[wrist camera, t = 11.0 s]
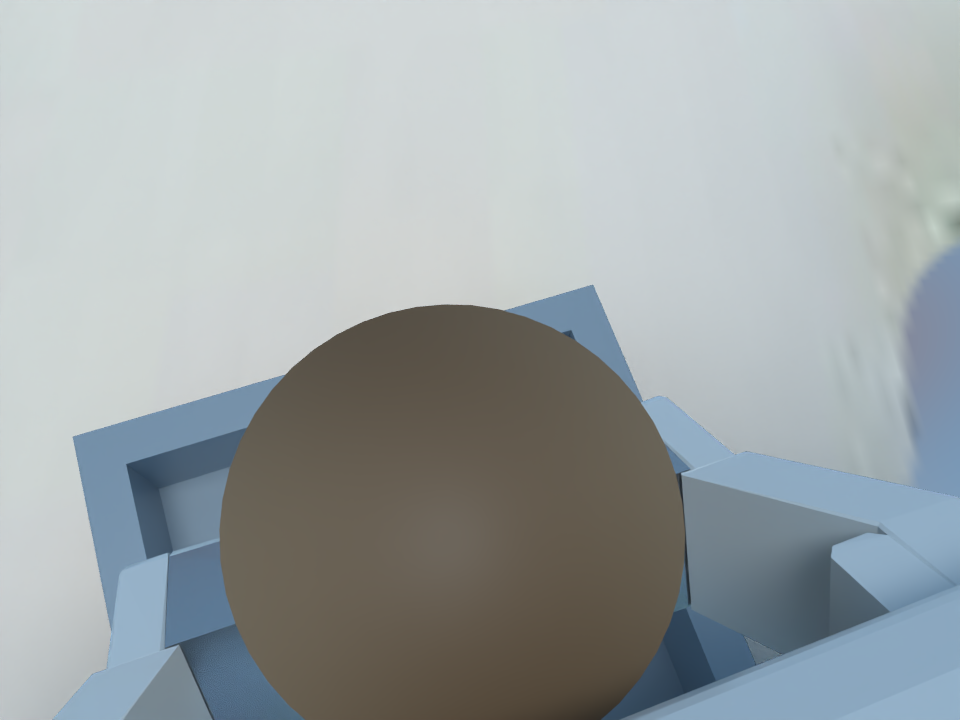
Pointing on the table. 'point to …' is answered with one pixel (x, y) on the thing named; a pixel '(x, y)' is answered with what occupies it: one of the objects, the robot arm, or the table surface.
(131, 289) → the table surface
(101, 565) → the tray
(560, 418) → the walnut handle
